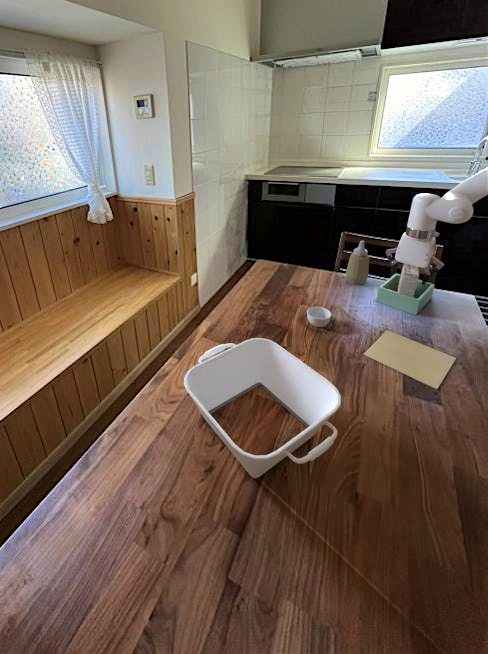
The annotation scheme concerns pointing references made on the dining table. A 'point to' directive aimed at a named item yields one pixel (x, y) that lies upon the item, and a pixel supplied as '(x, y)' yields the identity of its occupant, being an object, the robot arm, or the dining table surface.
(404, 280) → the supplement box
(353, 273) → the squeeze bottle
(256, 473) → the tub
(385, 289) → the box
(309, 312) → the teacup
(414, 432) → the dining table surface
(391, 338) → the mat
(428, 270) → the robot arm
